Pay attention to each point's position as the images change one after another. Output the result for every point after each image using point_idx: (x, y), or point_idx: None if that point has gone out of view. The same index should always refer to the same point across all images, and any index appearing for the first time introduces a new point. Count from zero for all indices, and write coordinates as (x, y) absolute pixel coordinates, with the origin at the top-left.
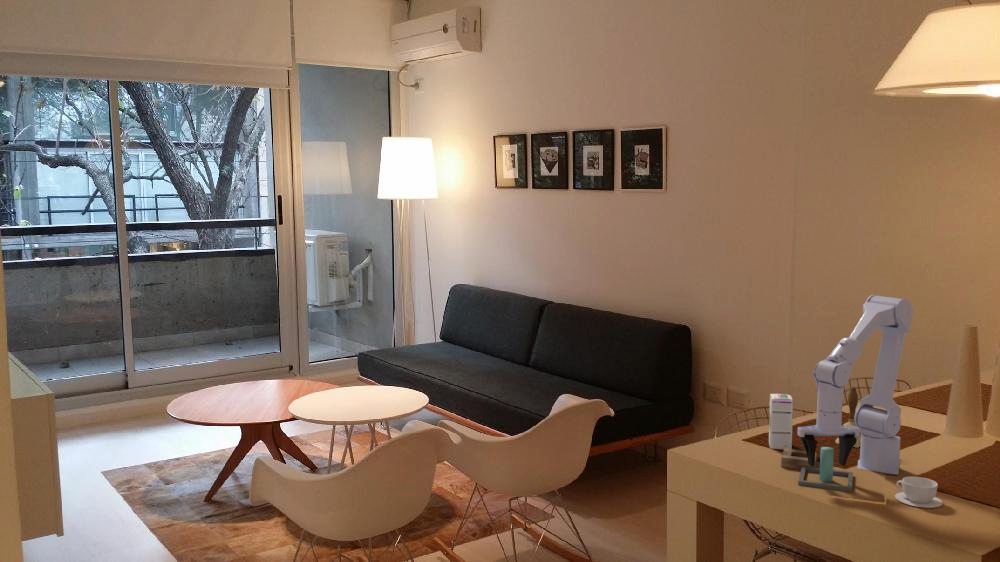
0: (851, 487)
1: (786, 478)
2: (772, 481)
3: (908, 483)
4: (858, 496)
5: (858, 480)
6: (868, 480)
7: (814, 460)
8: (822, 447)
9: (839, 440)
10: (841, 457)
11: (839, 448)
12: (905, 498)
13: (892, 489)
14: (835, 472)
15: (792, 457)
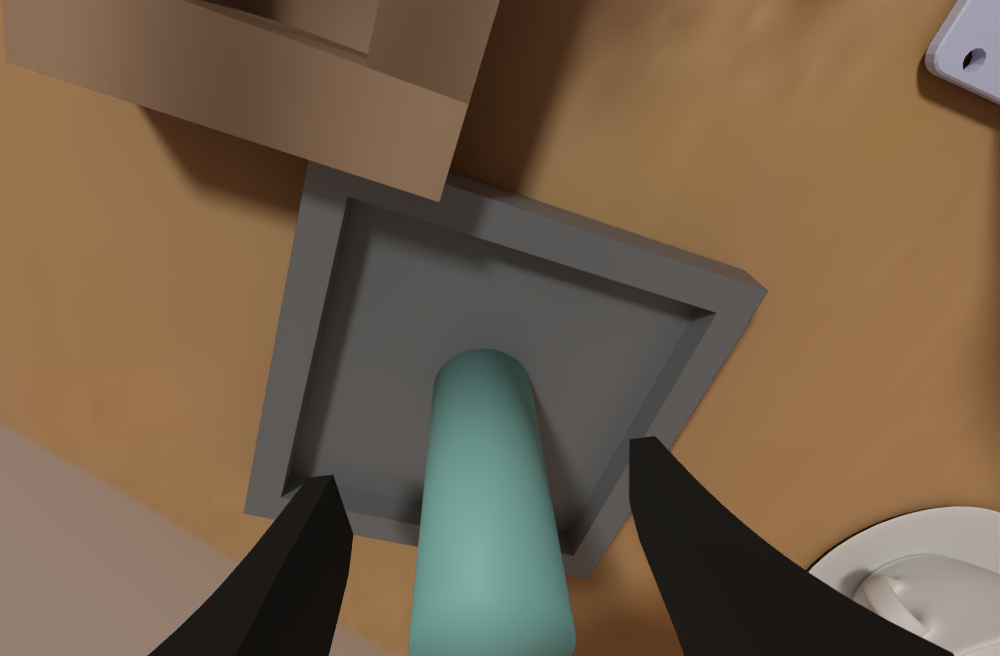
0: (589, 571)
1: (173, 332)
2: (62, 404)
3: (954, 611)
4: (604, 571)
5: (757, 323)
6: (837, 316)
7: (338, 598)
8: (438, 620)
9: (744, 641)
10: (654, 526)
11: (693, 540)
12: (850, 579)
13: (884, 461)
14: (613, 278)
15: (163, 63)
